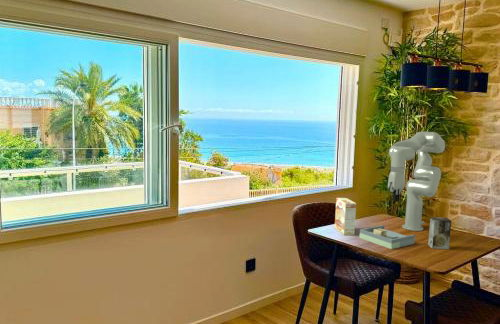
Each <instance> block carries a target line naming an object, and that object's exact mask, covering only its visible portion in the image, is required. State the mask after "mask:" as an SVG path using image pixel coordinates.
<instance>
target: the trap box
mask: <svg viewBox="0 0 500 324" xmlns="http://www.w3.org/2000/svg"><path fill="white" fill-rule="evenodd" d="M379 228H380V229H383V230H387V235H386V237H383V236H380V235H377V234H374V233H373V232H374V229H379ZM359 239H361V240H363V241H364V240H365V241H367V242H370V243H373V244H376V245H379V246H381V247H383V248H387V249H390V250H393V249H398V248H401V247H402V248H403V247H406V246H411V245H414V244H415V242H416V235H415V234H411V235H410V234H409V235H405V234H402V233H399V232H395V231H392V230H389V229H386V228H385V225H383V224H382V225H377V226H371V227H370V226H369V227H366V228H360V229H359Z"/></svg>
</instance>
